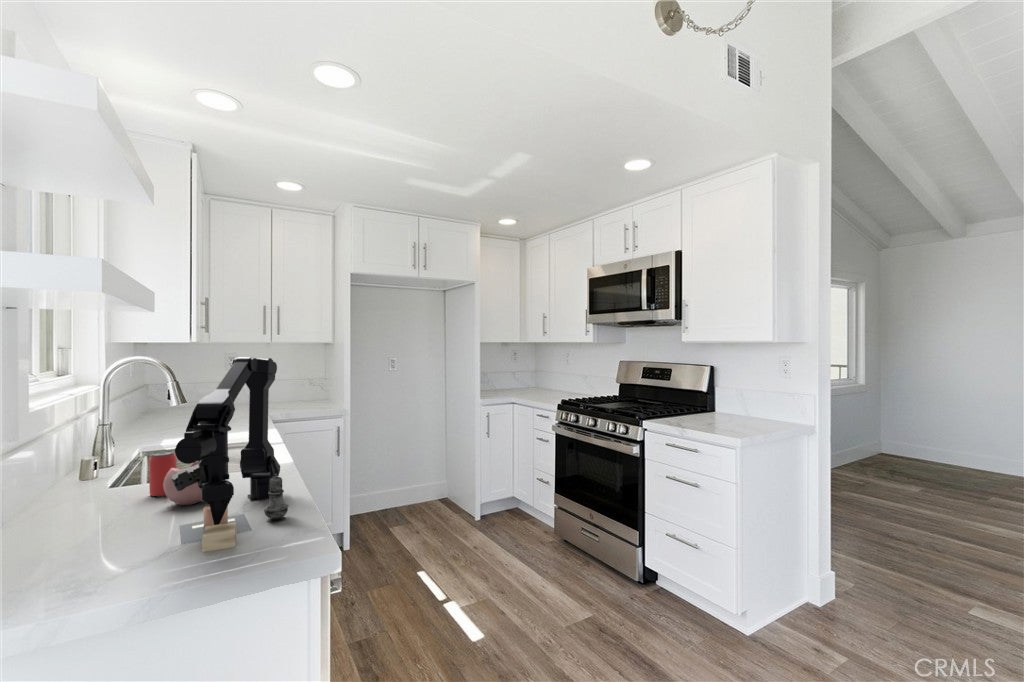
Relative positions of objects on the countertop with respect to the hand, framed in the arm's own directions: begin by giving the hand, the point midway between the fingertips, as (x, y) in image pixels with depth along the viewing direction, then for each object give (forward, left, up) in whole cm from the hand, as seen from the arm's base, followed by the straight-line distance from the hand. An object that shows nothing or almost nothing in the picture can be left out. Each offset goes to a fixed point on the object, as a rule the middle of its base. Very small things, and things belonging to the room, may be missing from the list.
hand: (215, 518), depth 122 cm
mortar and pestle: (-26, -4, -3) cm, 26 cm away
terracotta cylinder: (0, 0, -2) cm, 2 cm away
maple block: (+12, 0, -3) cm, 12 cm away
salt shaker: (+3, +13, -3) cm, 14 cm away
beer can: (-41, -10, -3) cm, 42 cm away
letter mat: (0, 0, -3) cm, 3 cm away
